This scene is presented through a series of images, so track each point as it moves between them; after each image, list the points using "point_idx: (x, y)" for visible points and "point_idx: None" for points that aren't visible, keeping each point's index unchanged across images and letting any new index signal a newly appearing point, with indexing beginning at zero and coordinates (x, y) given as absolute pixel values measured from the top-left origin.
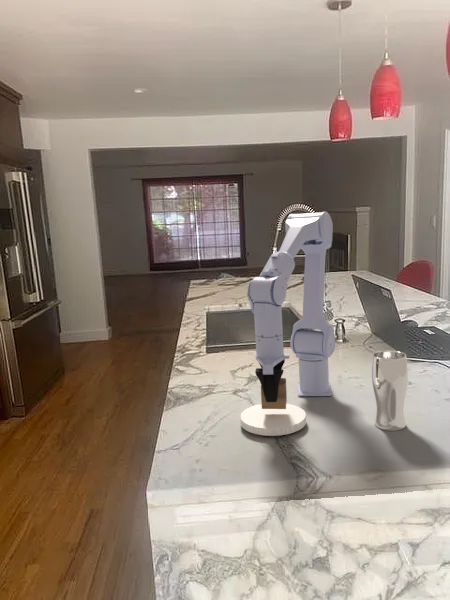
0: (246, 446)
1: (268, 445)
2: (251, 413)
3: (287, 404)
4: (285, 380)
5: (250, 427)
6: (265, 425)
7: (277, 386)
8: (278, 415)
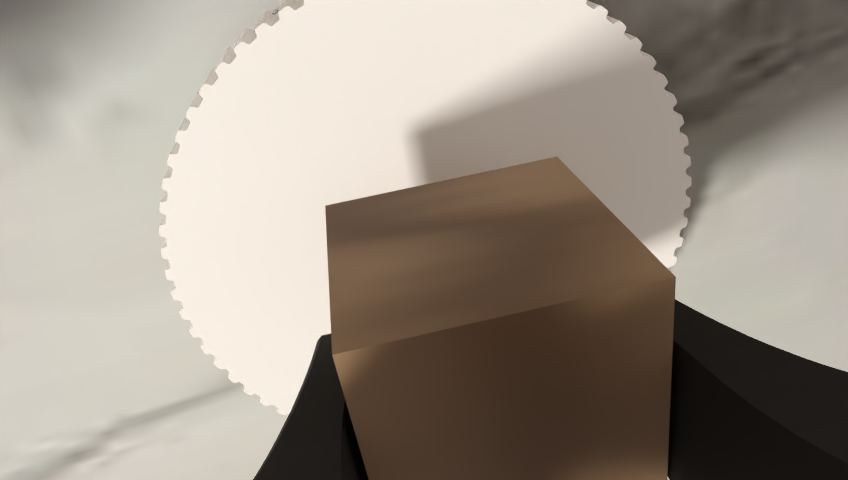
0: (740, 267)
1: (738, 155)
2: None
3: (186, 194)
4: (442, 332)
5: None
6: None
7: (770, 352)
8: None
